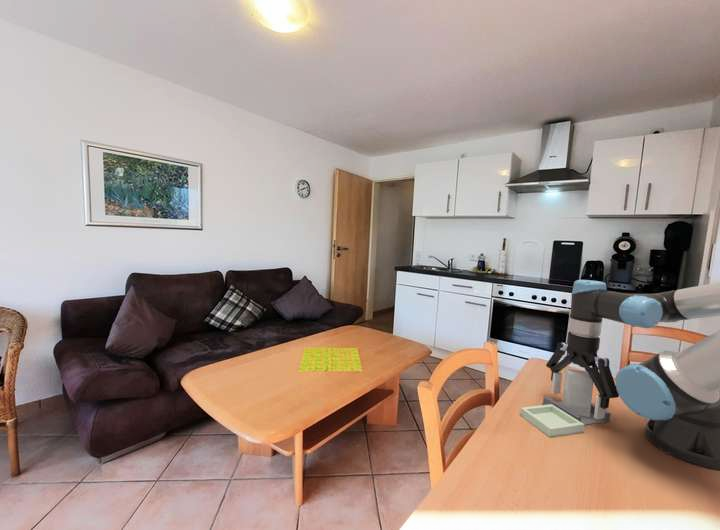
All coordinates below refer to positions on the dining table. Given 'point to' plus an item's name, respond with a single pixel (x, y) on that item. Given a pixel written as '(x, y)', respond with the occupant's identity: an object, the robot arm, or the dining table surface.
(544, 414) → the tray
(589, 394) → the skincare box
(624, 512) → the dining table surface
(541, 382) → the dining table surface
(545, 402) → the tray
